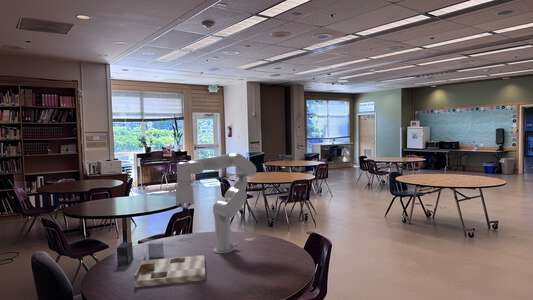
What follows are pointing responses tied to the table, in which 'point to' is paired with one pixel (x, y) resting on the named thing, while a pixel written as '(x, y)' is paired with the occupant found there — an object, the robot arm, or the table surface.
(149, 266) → the walnut block
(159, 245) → the medicine box
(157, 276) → the box
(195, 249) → the table surface
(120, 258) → the small box
